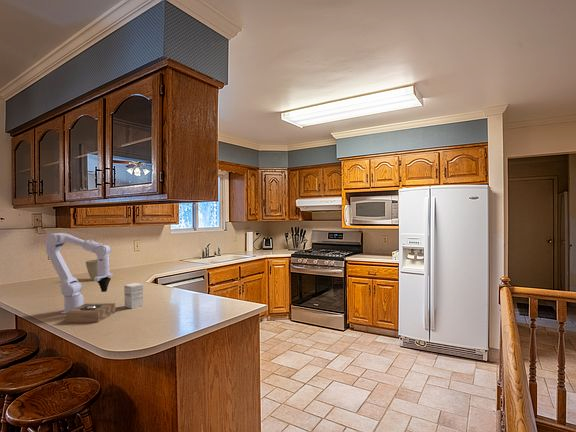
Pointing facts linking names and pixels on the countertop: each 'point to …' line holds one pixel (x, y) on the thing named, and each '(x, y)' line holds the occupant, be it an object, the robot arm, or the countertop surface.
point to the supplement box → (133, 295)
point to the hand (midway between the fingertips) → (104, 291)
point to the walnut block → (90, 313)
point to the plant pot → (92, 268)
